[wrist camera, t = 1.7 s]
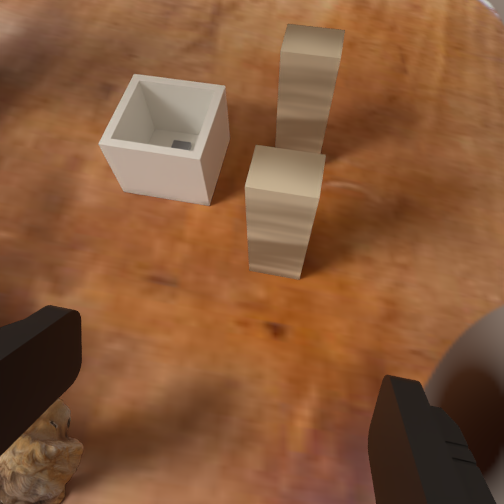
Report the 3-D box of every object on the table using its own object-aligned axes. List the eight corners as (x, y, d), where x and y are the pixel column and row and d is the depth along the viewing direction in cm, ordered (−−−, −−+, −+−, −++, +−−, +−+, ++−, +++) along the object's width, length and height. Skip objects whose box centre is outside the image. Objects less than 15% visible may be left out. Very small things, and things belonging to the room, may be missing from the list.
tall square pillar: (299, 279, 30) (319, 198, 20) (249, 270, 30) (244, 186, 20) (304, 246, 31) (325, 154, 21) (256, 238, 31) (255, 144, 22)
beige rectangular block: (317, 167, 35) (340, 58, 25) (274, 161, 35) (280, 51, 25) (321, 143, 36) (344, 30, 26) (279, 137, 36) (287, 23, 27)
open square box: (209, 205, 33) (199, 159, 28) (123, 191, 34) (98, 144, 28) (230, 138, 36) (225, 85, 31) (151, 127, 37) (134, 73, 32)
